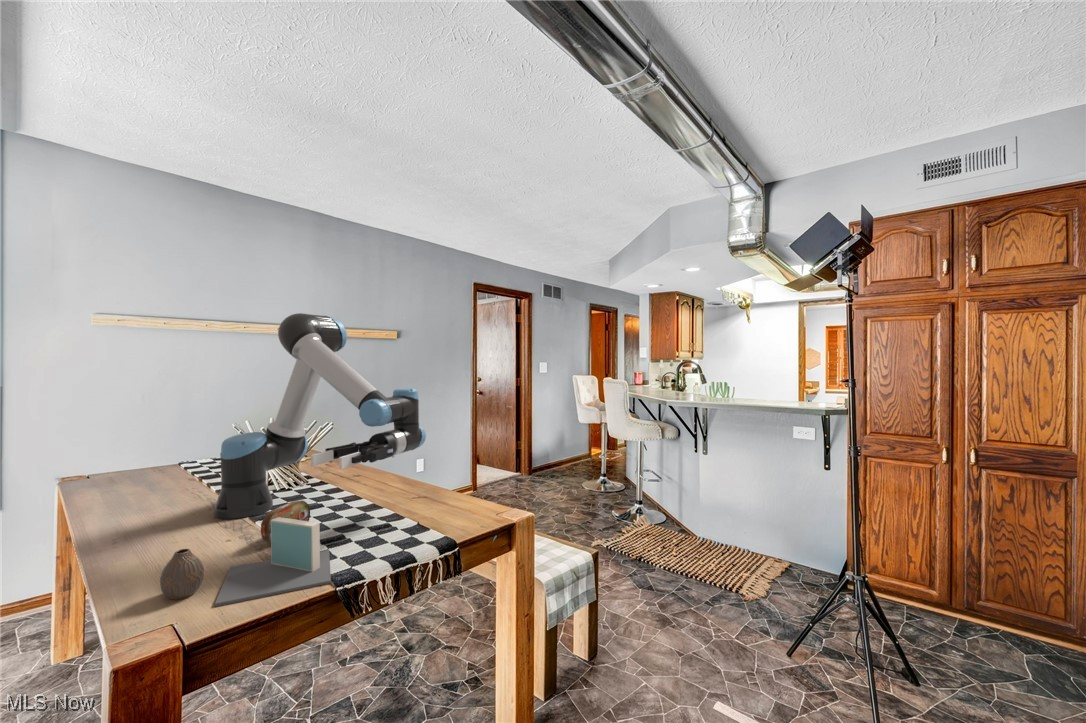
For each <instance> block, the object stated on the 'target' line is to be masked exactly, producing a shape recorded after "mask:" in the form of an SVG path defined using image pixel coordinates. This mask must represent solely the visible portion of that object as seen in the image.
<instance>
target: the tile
mask: <svg viewBox="0 0 1086 723" xmlns="http://www.w3.org/2000/svg"><path fill="white" fill-rule="evenodd" d="M320 527H321V526H320V522H314V521H310V520H309V521H302V520H295V519H288V518H281V517H278V518H275V519H272V520H271V543H270V560H271V564H274V565H280V566H285V567H290V568H295V569H301V570H306V571H311V572H313V571H315V570H317V569H319V568H320V551H321V542H320V541H321V540H320V538H321V536H320V534H321V533H320V531H321V530H320V529H321V528H320Z"/></svg>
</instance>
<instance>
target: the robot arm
mask: <svg viewBox="0 0 1086 723" xmlns="http://www.w3.org/2000/svg"><path fill="white" fill-rule="evenodd" d="M279 324H280V325H279V327H278V331H277V332H278V333H277V334H278V335H277V336H278V339H279V342H280V344H281V346H282V347H283V349H284V350H286V352H287V353H288V354H289V355H291V356H292V358H293V359H295V363H294V366H293V369H292V371H291V375H290V377H289V380H288V382H287V386H286V389H285V392H284V395H283V397H282V400H281V402H280V406H279V409H278V412H277V414H276V417H275V420H274V421H272V422H269V423H268V425H267V428H266V429H265V430H266V431H265V432H260V431H254V432H252V431H251V432H246V433H240V434H239V433H238V434H237V435H236V434H235V435H232V436H230V437H228V438H226V439H224V441H222V443H221V449H220V451H221V452H220V454H219V456H220V468H221V469H220V470H221V471H220V472H221V473H220V477H221V478H220V482H221V484H220V485H221V487H220V491H219V495H218V498H217V501H216V503H215V506H214V512H213V513H214V517H215V518H217V519H222V520H223V519H225V520H229V519H231V520H233V519H241V518H242V519H243V518H247V517H252V515H253V516H257V515H259V514H263V513H266V512H269V510H271V509H272V508H273V506H274V504H273V503H274V502H273V497H272V494H271V492H270V489H269V487H268V484H267V472H268V471H271V470H275V469H279V468H283V467H286V466H291V465H293V464H295V463H297V462H299V461H300V460H302V459H303V458H304V456H306V453H307V452H308V449H309V442H308V441H307V440H308V437H307V435H306V432H307V431H306V429H305V428H304V424H305V423H306V422H305V421H306V419H307V416H308V413H309V410H310V408H311V405H312V402H313V400H314V396H315V394H316V391H317V388H318V385H319V382H320V380H321V378H322V379H323V380H324V381H325V382H327V383H328V384H329V385H330V386H331V387H332V388H334V389H335V390H336V391H337V393H339V394H340V395H342V397H344V398H345V399H346V400H347V401H348V402H350V403H351V404H352V406H354V407H355V408H356V409H357V410H359V413H358V415H359V418H360V420H361V422H362V423H363V425H365V426H367V427H372V428H373V427H381V426H385V425H389V424H392V423H393V429H391V430H386V431H382V432H378V433H375V434H373V435H371V436H370V438H369V439H368V440H367V441H363V442H361V443H356V442H351V443H347V444H343V445H337V446H333V447H327V448H325V451H322V452H318V453H313V454H311V455H310V466H311V467H315V466H319V465H323V464H326V463H333V461H334V460H338V466H339V467H338V469H339V470H340V469H341V470H342V469H345V468H349V467H352V466H356V465H359V464H362V463H367V462H369V463H374V462H377V461H381V460H385V459H389V458H391V459H392V458H395V456H397V455H400V454H403V453H406V452H410V451H414V450H416V449H418V448H420V447H421V446H423V444H424V443H425V441H426V437H427V433H426V431H425V429H424V428H423V427H422V426H421V425H420V422H419V420H420V419H419V418H420V416H419V415H420V414H419V413H420V412H419V411H420V410H419V404H420V403H419V402H420V400H419V393H418V390H417V389H416V388H414V387H413V388H411V387H409V388H407V387H406V388H397V389H394V390H393V392H392V396H390V397H387V396H385V394H383V393H382V392H380V391H379V390H378V389H377V388H376V387H374V386H373V385H372V383H370V382H369V381H368V380H366V378H364V377H363V376H362V375H361V374H360V373H359V372H357V371H356V370H355V369H354V368H353V367H351V366H350V365H349V364H348V363H347V362H346V361H345V360H344V359H343V358H342V357H341V356H339V355H338V354H336V352H339V351H340V350H342V349H343V348H345V346H346V344H347V341H348V340H347V339H348V335H347V334H348V332H347V330H346V328H345V325H344V324H343V322H341V320H339V319H337V318H335V317H332V316H331V317H330V316H327V315H318V314H309V313H303V312H302V313H301V312H300V313H293V314H291V315H289V316H287V317H285V318H284V319H283V320H282V321H281V323H279Z"/></svg>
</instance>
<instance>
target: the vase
mask: <svg viewBox="0 0 1086 723" xmlns="http://www.w3.org/2000/svg"><path fill="white" fill-rule="evenodd" d="M204 576H205V568H204V564H203V562H202V560H201V559H200V557H197V556H196V555H195V554H194V553H193V552H192V550H191V549H190V548H181V549H178V550H176V551H175V552H174V554H173V555H172V557H171V558H170V560H169V561H168V562H167V563H166V564H165V566H164V567H163V570H162V571H161V574H160V578H159V586H160V590H161V593H162V594H163V595H164V596H165V597H167V598H168V599H170V600H181V599H186V598H189V597H190V596H192V595H194V594H195V593H196V592H197V591H198V590H199V588H200V587H201V585H202V584H203V580H204Z"/></svg>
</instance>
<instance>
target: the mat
mask: <svg viewBox="0 0 1086 723" xmlns="http://www.w3.org/2000/svg"><path fill="white" fill-rule="evenodd" d="M330 559H331V558H330V549H324V550H320V568H319V569H317V570H315V571H313V572H311V571H306V570H301V569H295V568H290V567H285V566H280V565H274V564H271V559H268V560H262V561H256V562H251V563H246V564H239V565H234V566H230V567H229V569H228V572H227V574H226V577H225V579H224V581H223V584H222V586H221V589H220V591H219V593H218V595H217V598H216V600H215V603H214V608H215V607H221V606H224V605H226V606H227V605H230V604H236V603H241V602H246V601H250V600H256V599H261V598H265V597H271V596H274V595H275V596H276V595H280V594H284V593H291V592H296V591H299V590H305V589H309V588H314V587H319V586H324V585H329V584H332V579H331V562H330V561H331V560H330Z"/></svg>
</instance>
